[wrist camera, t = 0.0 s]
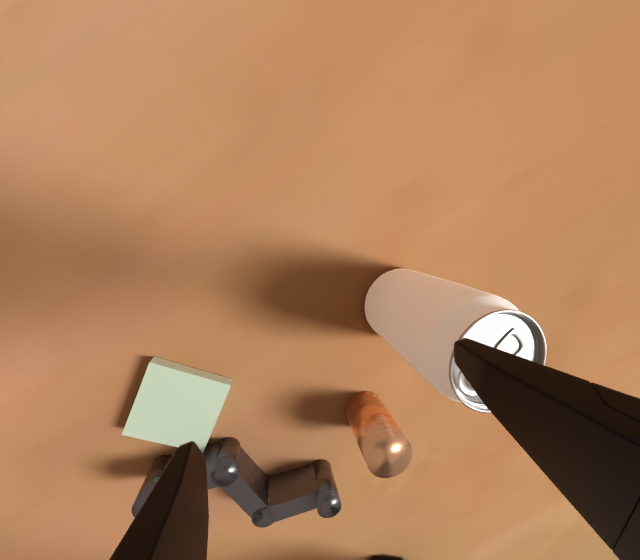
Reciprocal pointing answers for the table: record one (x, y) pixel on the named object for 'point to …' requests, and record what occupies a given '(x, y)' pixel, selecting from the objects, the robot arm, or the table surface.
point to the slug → (378, 435)
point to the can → (447, 327)
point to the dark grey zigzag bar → (258, 485)
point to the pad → (176, 404)
